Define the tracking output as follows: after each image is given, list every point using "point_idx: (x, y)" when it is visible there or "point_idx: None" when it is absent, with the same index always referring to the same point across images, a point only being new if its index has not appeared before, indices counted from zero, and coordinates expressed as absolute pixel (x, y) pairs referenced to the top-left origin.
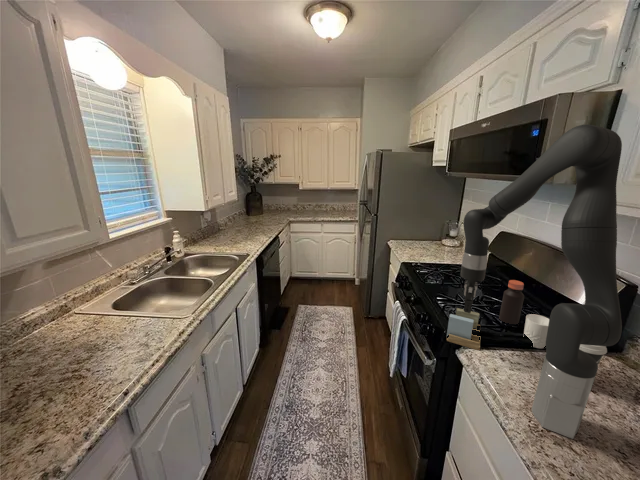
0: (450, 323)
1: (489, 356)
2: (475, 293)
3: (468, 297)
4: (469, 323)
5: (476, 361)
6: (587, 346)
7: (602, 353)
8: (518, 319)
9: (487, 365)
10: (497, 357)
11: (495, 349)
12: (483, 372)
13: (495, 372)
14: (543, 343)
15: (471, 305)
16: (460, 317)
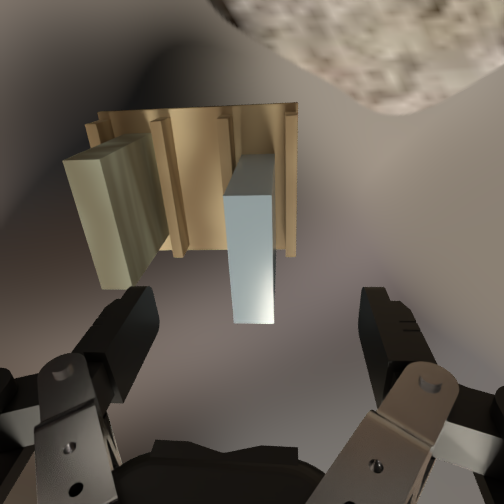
0: (274, 287)
1: (322, 48)
2: (410, 493)
3: (135, 346)
4: (272, 212)
5: (399, 108)
6: None
7: None
8: None
9: (411, 53)
10: (310, 3)
11: (234, 18)
12: (479, 69)
13: (458, 7)
14: None
15: (408, 344)
16: (245, 271)
